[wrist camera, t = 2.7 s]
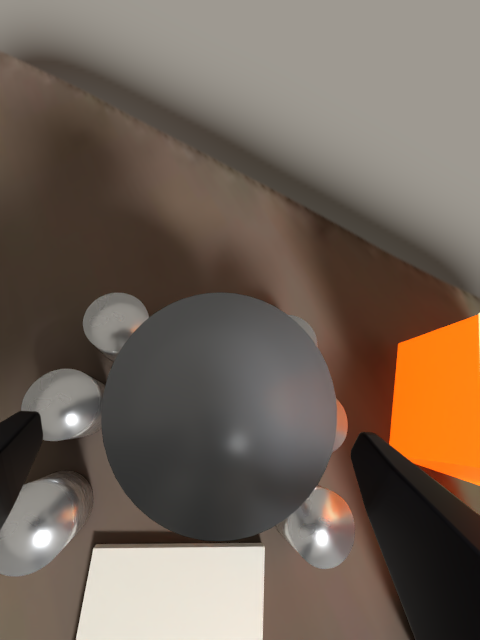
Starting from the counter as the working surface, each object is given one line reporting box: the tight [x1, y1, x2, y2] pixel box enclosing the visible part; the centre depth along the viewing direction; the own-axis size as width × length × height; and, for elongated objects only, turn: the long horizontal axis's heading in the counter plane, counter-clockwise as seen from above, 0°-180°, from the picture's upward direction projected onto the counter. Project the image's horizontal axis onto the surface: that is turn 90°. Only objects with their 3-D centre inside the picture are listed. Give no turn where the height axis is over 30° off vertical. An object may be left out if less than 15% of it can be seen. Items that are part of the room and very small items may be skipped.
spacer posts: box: [0, 293, 355, 576], centre depth 15 cm, size 12×15×3 cm
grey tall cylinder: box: [101, 293, 337, 541], centre depth 11 cm, size 5×5×11 cm
